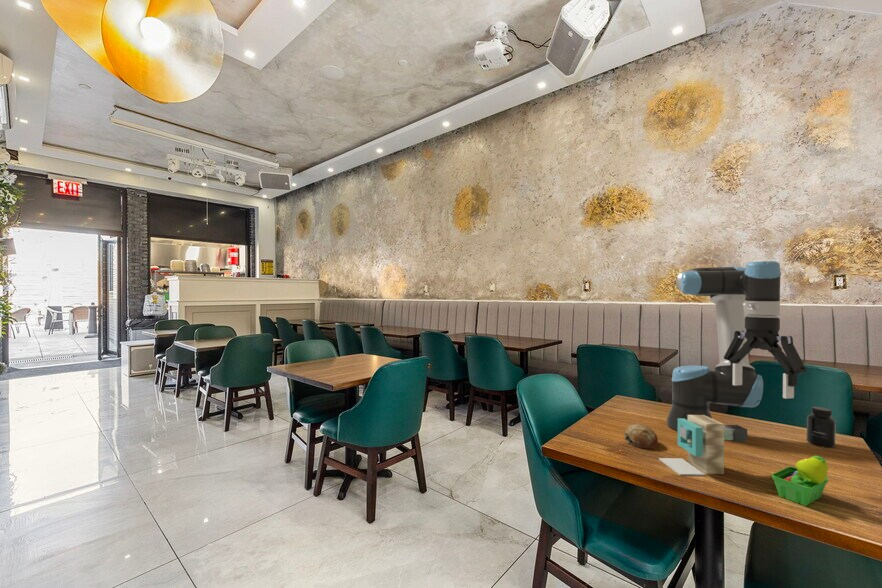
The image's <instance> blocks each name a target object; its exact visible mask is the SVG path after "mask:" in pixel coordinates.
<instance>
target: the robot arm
mask: <svg viewBox="0 0 882 588" xmlns="http://www.w3.org/2000/svg"><path fill="white" fill-rule="evenodd" d="M781 275H782V271H781V264H780V263H779V262H778V261H777V260H776V261H774V260H770V261H769V260H767V261H766V260H765V261H750V262H747V263H745V267H742V266H720V267H719V266H718V267H717V266H716V267H714V266H713V267H712V266H711V267H694V268H690V269H686V270H683V271H681V272H680V273H679V274H677V276H676V277H675V287H676V288H677V290H679V291H680V292H681V293H682V294H683V295H692V296H699V297H709V298H710V302H712V304H714V305H715V316H716V330H717V331H716V332H717V343H718V344H717V345H718V357H719V358H718V359H719V360H718V361H719V363H717V364H716V366H714V370H711V369H710V367H708V366H705V365H696V364H695V365H681V366H676V367H674V369H672V378H671V381H672V391H671V394H672V395H671V396H672V397H671V407H670V410H669V413H668V415H667V417H666V426H667V427H669V428H670V429H672V430H675V431H677V432H678V418H684V419H686V420H688V415H705V416H707V417H710V418H712V414H711V412H710V404H716V405H724V406H725V405H726V406H733V407H739V408H756V407H757V406H759V404H760V402H761V401H762V398H763V392H764V380H763V377H762V375H760V374H756V369H755V367H754V366H752V365H750V360H749V353H750V352H751V351H752V350H754V349H755V350H756V349H758V350H762V351H768V353H771V354H772V356H773V357H774V359H775V360H776V361H777V363H778V364H779V365H780V366H781V368H782V369H783V370H784V371H785V372H784V373H782V398H783V399H786V400H787V399H794V398H795V387H797V386H798V375H799V374H805V373H807V371H808V370H807V368H806V366H805V364H804V362H803V360H802V358H801V356H800V354H799V352H798V351H797V348H796V347H795V345H794V340H793V336H791V335H782V336H781V335H779V331H780V330H781V319H780V318H779V317H778V316H780V315H781ZM745 315H746V316H745ZM778 343H779V344H780V345H781V346H780V345H779V344H778ZM712 419H713V418H712Z"/></svg>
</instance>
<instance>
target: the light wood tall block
mask: <svg viewBox="0 0 882 588" xmlns="http://www.w3.org/2000/svg"><path fill="white" fill-rule="evenodd" d="M688 421H690V422H692V423H694V424H696V425H698V426H700V427H702V428H703V456H694V455H693V454H691V453H689V452H688V451H686V452H687V454H686V456H687V457H686V458H687V459H686V461H687V462H688V463H689V464H691V465H692V466H694V467H695V468H697V469H698V470H700V471H701V472H703V473H704V474H705V475H724V474H725V440H724V427H725V424H724V423H722V422H720V421H718V420H716V419H714V418H710V417H707V416H705V415H688ZM687 442H688V443H690V444H692V440H687Z"/></svg>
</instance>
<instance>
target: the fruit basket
mask: <svg viewBox="0 0 882 588" xmlns="http://www.w3.org/2000/svg"><path fill="white" fill-rule="evenodd" d="M828 470H829V465H828V463H827V461H826V459H824V457H822V456H819V455H813V456H811V457H809V458H804V459H800V460H798V461H797V462H796V463H795V467H794V466H787V467H785V468H783V469H781V470H779V471H776V472H774V473H772V474H771V477H772V480H774V481H773V482H774V484H775V487H776V488H775V489H776V491H777V493H778V496H779V497H780V498H784V499H786V500H788V501H791V502H794V503H795V504H799V503H800V504H799V505H801V506H804V507H807V506H808V505H810V504H812V503H813V502H815V501H816V500H818V499H820V498H821V497H822V495H823V493H824V490H825V487H826V484H827V483H828V481H829V480H830V479H829V478H828Z"/></svg>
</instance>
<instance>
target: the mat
mask: <svg viewBox="0 0 882 588" xmlns="http://www.w3.org/2000/svg"><path fill="white" fill-rule="evenodd" d="M658 460H659V462H662V463H663V464H664V465H666V466H667V467H668V468H669V469H671V470H672V471H673V472H675V473H676V474H677V475H679V476H692V477H693V476H698V477H699V476H702V477H703V476H705V477H706V473H704V472H703V471H701V470H700V469H698V468H697V467H695V466H694V465H692V464H691V463H689V462H688V461H687V460H685V459H684V458H683V457H679V458H677V457H675V458H673V457H669V458H668V457H666V458H665V457H659V458H658Z"/></svg>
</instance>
